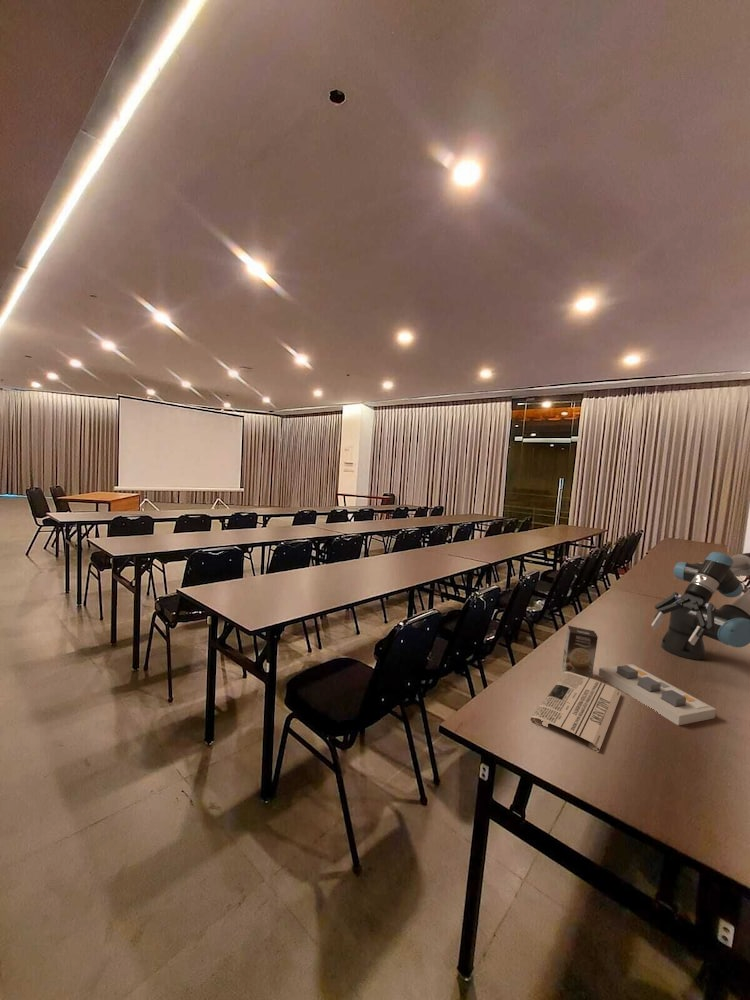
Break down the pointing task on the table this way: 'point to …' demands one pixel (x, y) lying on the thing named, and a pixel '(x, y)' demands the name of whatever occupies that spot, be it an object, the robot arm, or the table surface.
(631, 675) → the button
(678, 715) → the button board
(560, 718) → the newspaper
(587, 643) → the coffee box
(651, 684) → the middle button
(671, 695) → the button
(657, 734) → the table surface
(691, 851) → the table surface
